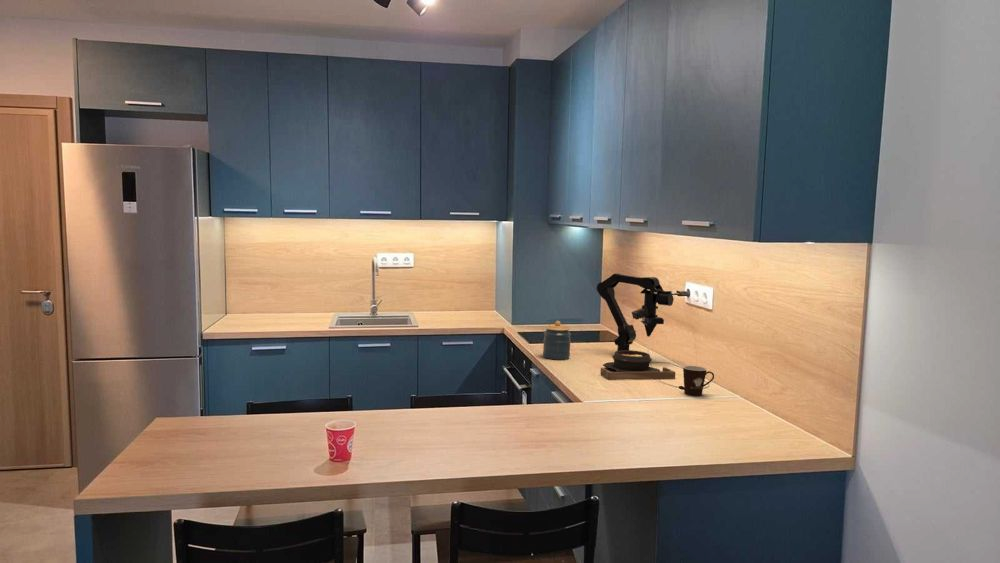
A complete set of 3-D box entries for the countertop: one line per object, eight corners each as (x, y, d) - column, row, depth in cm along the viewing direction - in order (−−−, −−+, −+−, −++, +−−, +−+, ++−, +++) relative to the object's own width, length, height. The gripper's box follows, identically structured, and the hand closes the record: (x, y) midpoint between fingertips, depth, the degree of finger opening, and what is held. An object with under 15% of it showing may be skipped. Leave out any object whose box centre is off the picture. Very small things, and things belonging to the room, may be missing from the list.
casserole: (595, 371, 280) (596, 352, 280) (613, 364, 296) (614, 346, 295) (650, 380, 266) (652, 360, 266) (666, 373, 282) (667, 354, 281)
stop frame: (600, 374, 273) (600, 367, 273) (664, 373, 280) (665, 367, 280) (608, 379, 264) (609, 372, 264) (675, 378, 271) (675, 371, 271)
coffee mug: (681, 395, 244) (682, 369, 243) (681, 390, 252) (683, 364, 251) (713, 398, 240) (715, 372, 239) (712, 393, 248) (714, 368, 248)
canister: (538, 355, 311) (540, 318, 309) (563, 354, 314) (565, 318, 313) (548, 360, 298) (550, 322, 297) (574, 360, 302) (576, 322, 301)
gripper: (626, 301, 311) (624, 333, 312) (642, 306, 293) (640, 339, 294) (647, 301, 313) (646, 333, 315) (665, 306, 295) (663, 339, 296)
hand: (648, 336), depth 305 cm, fingers closed
